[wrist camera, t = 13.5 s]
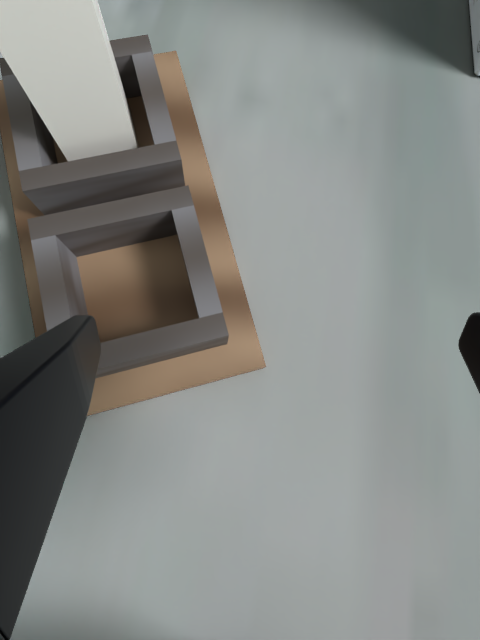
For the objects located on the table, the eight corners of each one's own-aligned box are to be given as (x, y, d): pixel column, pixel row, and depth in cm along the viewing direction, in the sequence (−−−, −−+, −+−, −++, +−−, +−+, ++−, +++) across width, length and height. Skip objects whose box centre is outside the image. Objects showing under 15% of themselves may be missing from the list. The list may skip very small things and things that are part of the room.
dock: (263, 368, 22) (273, 361, 19) (57, 423, 21) (22, 429, 17) (177, 63, 27) (170, 5, 23) (0, 93, 25) (-39, 37, 21)
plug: (143, 165, 24) (58, -108, 11) (78, 178, 23) (-89, -92, 11) (130, 111, 24) (37, -203, 12) (67, 122, 24) (-101, -192, 11)
